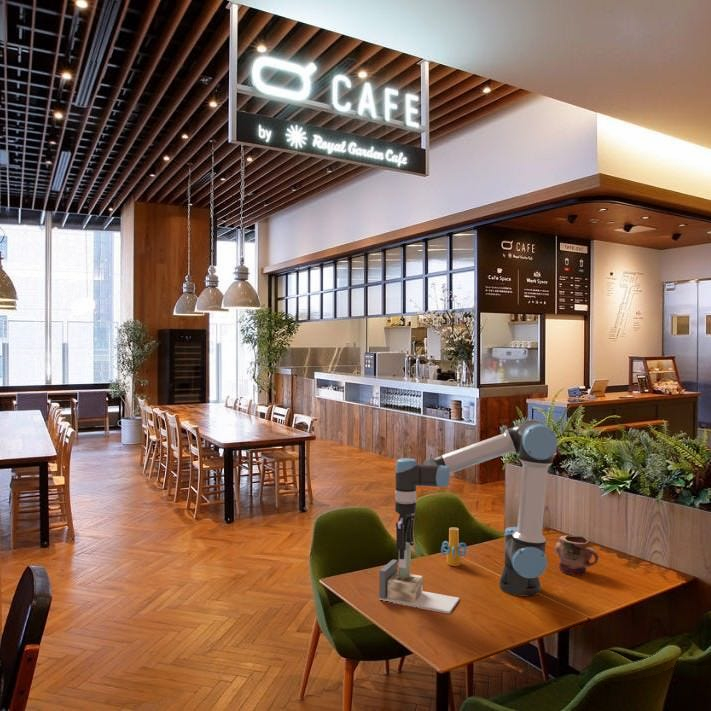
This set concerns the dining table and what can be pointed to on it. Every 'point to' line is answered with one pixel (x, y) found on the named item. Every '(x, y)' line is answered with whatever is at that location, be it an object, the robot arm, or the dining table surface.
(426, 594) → the backstop
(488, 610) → the dining table surface
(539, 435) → the robot arm
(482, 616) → the dining table surface
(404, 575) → the dowel
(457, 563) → the orange ringed tube
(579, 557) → the brown ceramic mug
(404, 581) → the block
